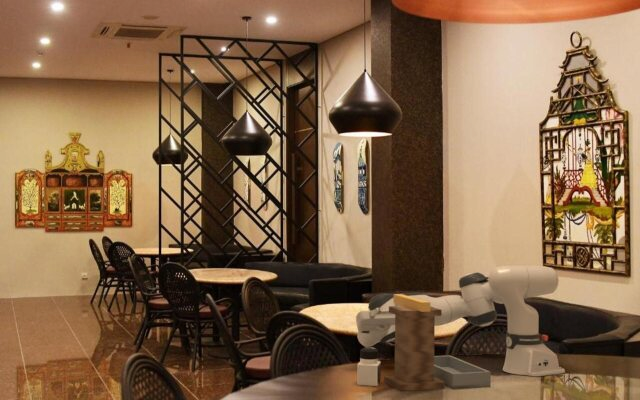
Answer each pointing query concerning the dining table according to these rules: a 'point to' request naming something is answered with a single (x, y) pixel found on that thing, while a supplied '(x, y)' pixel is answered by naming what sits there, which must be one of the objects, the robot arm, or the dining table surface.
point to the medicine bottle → (369, 368)
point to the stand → (414, 349)
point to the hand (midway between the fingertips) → (391, 309)
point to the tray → (460, 373)
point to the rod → (412, 302)
